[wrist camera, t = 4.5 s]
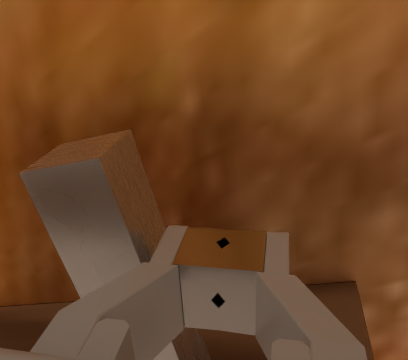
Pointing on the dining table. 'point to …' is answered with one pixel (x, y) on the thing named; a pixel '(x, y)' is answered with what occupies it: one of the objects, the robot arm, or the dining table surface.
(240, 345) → the jamb
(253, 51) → the dining table surface
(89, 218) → the swing bar
